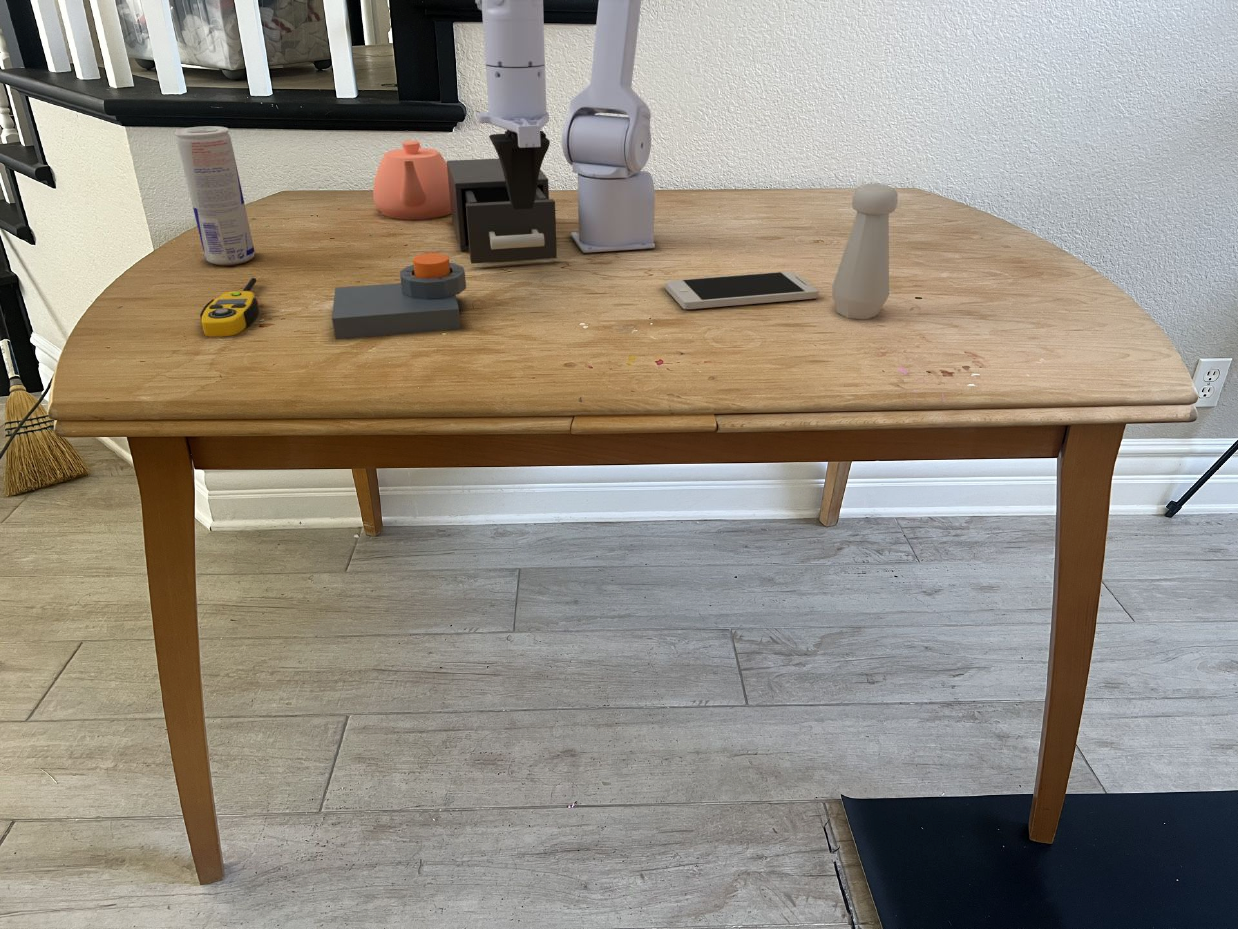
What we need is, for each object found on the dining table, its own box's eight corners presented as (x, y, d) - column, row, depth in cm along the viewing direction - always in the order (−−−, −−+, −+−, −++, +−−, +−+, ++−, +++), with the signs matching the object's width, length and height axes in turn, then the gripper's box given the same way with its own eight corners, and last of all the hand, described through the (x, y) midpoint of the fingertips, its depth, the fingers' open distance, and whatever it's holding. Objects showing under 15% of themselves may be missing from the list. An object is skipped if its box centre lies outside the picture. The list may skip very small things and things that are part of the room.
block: (464, 295, 94) (461, 259, 91) (473, 328, 85) (470, 289, 83) (338, 305, 91) (332, 268, 89) (335, 340, 83) (328, 300, 81)
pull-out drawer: (563, 268, 99) (561, 210, 96) (474, 275, 97) (470, 215, 93) (539, 229, 113) (537, 177, 109) (461, 234, 111) (457, 181, 107)
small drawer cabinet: (550, 246, 110) (548, 178, 105) (460, 252, 107) (454, 183, 103) (533, 219, 121) (531, 156, 116) (452, 223, 118) (446, 160, 114)
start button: (448, 268, 90) (447, 252, 89) (451, 279, 87) (450, 262, 86) (414, 270, 89) (412, 254, 88) (415, 281, 86) (413, 264, 86)
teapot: (461, 195, 132) (455, 130, 127) (459, 227, 116) (452, 155, 112) (380, 197, 130) (372, 131, 125) (368, 230, 115) (357, 156, 110)
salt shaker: (886, 324, 87) (909, 195, 81) (829, 320, 88) (847, 191, 82) (882, 305, 92) (904, 181, 85) (828, 300, 93) (846, 178, 86)
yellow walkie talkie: (188, 320, 82) (229, 269, 94) (193, 339, 83) (233, 286, 95) (241, 318, 82) (274, 268, 95) (246, 337, 83) (278, 285, 96)
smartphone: (664, 287, 96) (664, 279, 95) (791, 277, 99) (792, 269, 99) (684, 310, 90) (684, 301, 90) (818, 298, 93) (819, 290, 93)
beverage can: (266, 256, 105) (239, 127, 97) (230, 269, 100) (199, 135, 93) (232, 250, 107) (203, 123, 99) (195, 263, 102) (162, 130, 95)
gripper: (466, 57, 88) (476, 192, 95) (482, 74, 76) (492, 227, 83) (534, 56, 89) (539, 189, 96) (560, 72, 77) (564, 223, 84)
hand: (522, 207), depth 90 cm, fingers closed
